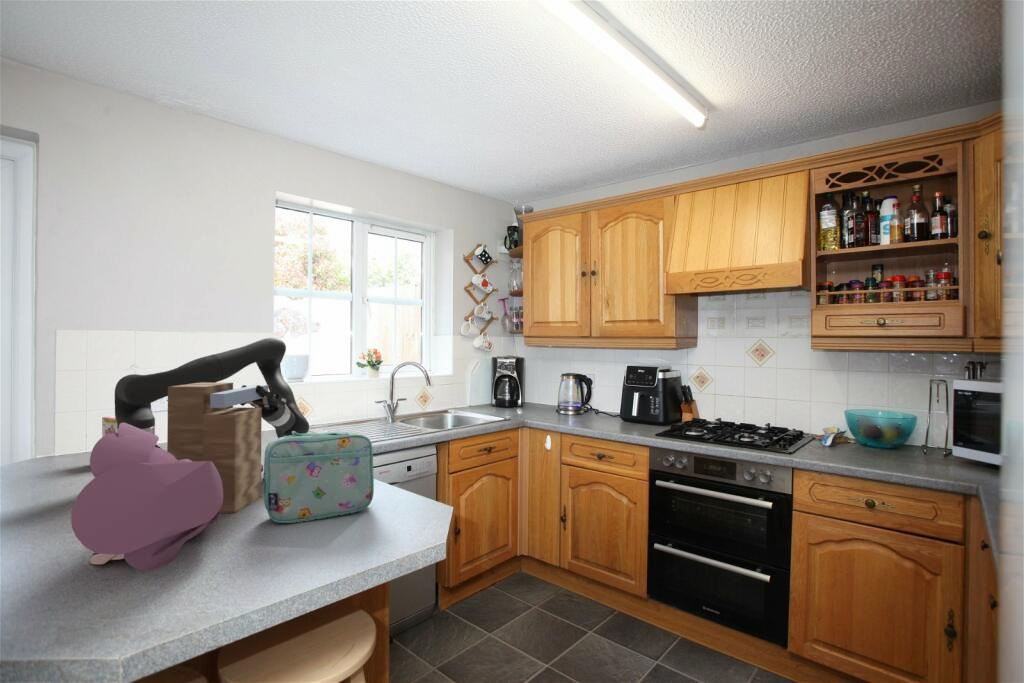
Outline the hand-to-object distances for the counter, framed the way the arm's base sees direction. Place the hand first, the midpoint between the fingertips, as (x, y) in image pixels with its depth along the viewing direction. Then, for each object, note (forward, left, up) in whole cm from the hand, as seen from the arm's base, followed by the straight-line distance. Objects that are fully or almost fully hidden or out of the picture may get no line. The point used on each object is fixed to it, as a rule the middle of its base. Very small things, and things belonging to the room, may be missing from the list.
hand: (250, 388), depth 144 cm
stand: (-6, -8, -30) cm, 32 cm away
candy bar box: (-57, +47, -30) cm, 80 cm away
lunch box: (+22, -21, -31) cm, 43 cm away
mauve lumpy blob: (-8, -37, -31) cm, 49 cm away
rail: (-1, -4, -3) cm, 6 cm away
